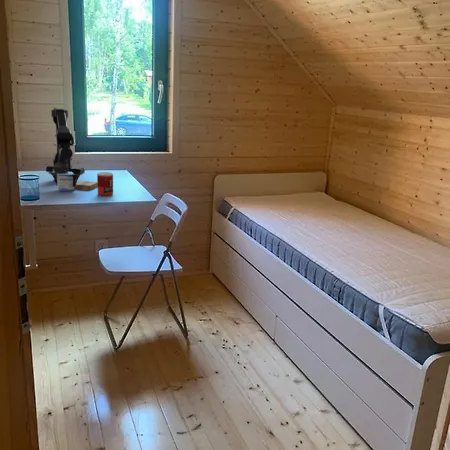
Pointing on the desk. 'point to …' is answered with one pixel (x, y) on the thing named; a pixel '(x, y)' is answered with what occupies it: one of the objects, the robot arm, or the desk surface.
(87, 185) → the tan block
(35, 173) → the desk surface
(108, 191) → the canned food
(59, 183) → the medicine box
